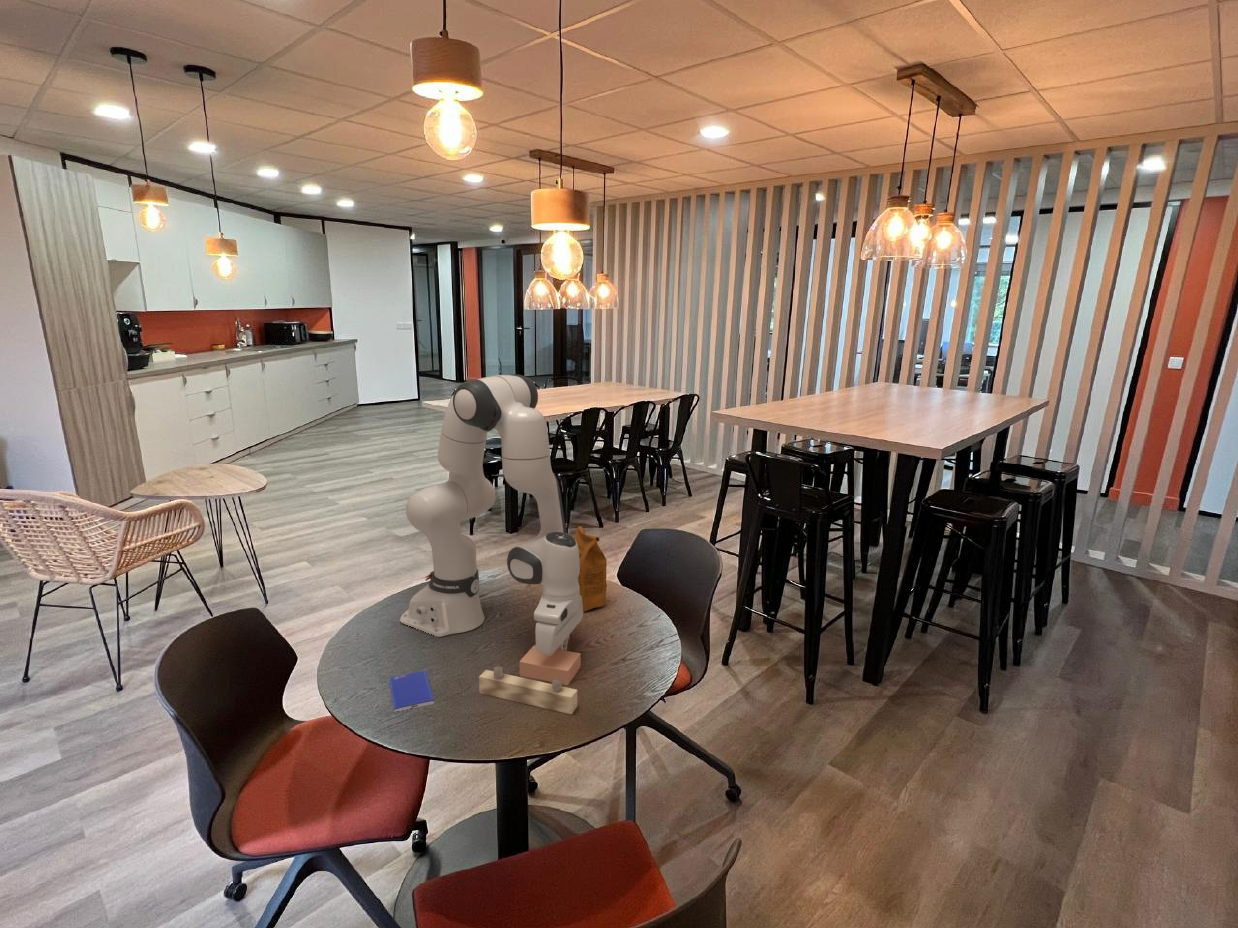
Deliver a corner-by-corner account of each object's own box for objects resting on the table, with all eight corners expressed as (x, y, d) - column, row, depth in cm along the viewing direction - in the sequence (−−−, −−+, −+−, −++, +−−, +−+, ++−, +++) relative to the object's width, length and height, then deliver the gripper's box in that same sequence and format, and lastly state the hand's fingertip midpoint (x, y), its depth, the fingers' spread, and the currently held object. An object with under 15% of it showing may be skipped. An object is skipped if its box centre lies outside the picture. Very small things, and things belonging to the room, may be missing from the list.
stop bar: (479, 692, 139) (478, 668, 137) (486, 685, 142) (485, 661, 140) (571, 714, 132) (571, 688, 131) (577, 706, 135) (577, 681, 133)
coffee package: (592, 591, 191) (592, 522, 186) (610, 608, 180) (611, 535, 175) (561, 597, 187) (561, 526, 182) (578, 614, 176) (578, 540, 171)
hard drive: (388, 677, 142) (394, 708, 131) (426, 669, 146) (434, 699, 135) (389, 683, 143) (394, 714, 132) (426, 675, 146) (434, 705, 135)
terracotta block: (519, 677, 146) (519, 661, 145) (534, 659, 153) (534, 644, 152) (568, 686, 143) (568, 670, 142) (580, 668, 150) (580, 653, 149)
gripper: (565, 581, 160) (566, 631, 163) (530, 616, 141) (531, 672, 144) (589, 585, 158) (588, 635, 161) (556, 621, 139) (556, 677, 142)
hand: (561, 653), depth 153 cm, fingers closed
